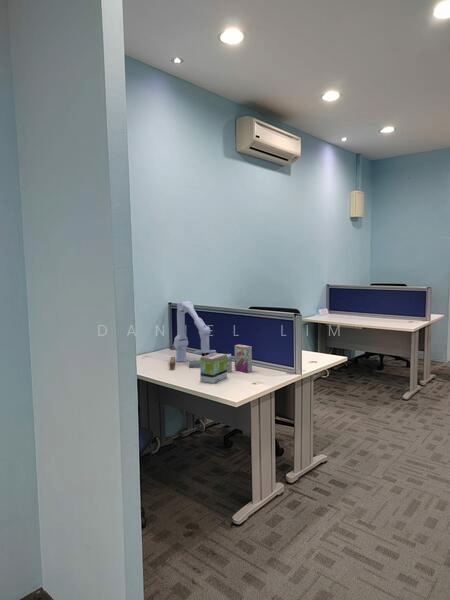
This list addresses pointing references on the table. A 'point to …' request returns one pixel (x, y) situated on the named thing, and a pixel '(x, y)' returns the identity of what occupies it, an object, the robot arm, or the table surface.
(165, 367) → the table surface
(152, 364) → the table surface
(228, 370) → the light bulb box
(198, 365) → the steel slab
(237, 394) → the table surface
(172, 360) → the stop bar
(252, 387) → the table surface
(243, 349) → the candy bar box
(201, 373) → the tea box
